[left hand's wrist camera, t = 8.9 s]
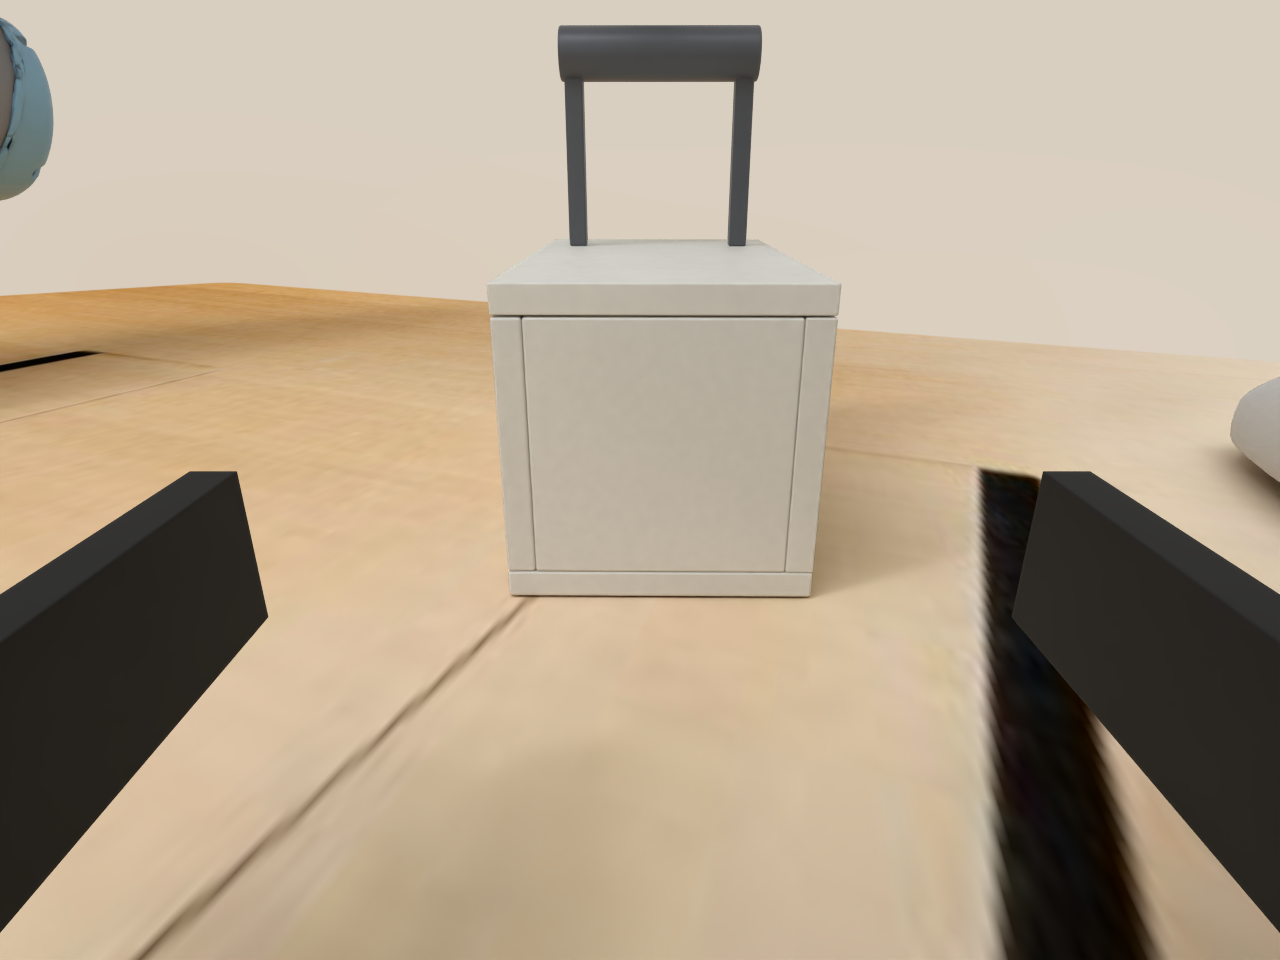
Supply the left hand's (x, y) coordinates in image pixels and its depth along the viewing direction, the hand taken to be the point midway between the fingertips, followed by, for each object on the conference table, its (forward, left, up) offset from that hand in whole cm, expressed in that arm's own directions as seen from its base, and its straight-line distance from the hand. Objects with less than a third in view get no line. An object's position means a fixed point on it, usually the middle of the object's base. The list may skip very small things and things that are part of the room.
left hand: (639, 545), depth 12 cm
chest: (+14, -9, -6) cm, 18 cm away
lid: (+14, -9, +2) cm, 17 cm away
